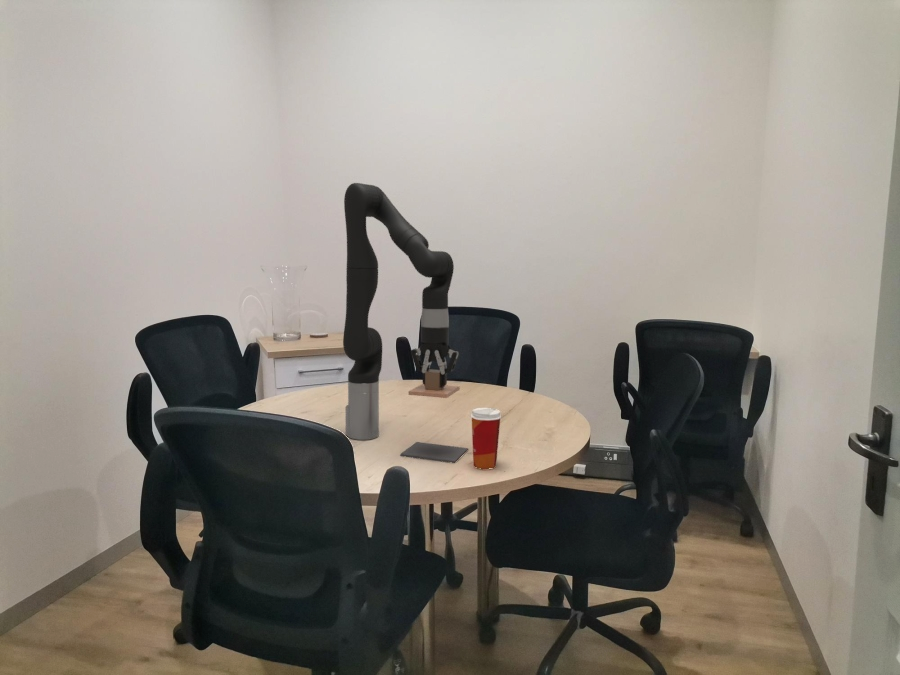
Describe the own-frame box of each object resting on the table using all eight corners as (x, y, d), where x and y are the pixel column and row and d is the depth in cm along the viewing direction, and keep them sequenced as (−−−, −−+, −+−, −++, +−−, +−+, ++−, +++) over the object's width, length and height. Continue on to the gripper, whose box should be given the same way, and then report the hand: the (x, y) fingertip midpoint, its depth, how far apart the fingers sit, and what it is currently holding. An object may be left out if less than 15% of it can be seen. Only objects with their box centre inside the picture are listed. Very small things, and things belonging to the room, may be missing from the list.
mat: (400, 455, 171) (400, 453, 170) (416, 443, 182) (416, 441, 182) (454, 463, 165) (454, 461, 165) (468, 450, 177) (468, 448, 177)
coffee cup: (481, 458, 170) (482, 405, 168) (506, 465, 164) (507, 410, 162) (462, 466, 163) (463, 411, 161) (487, 473, 158) (489, 416, 156)
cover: (408, 394, 167) (408, 373, 166) (423, 386, 177) (423, 366, 177) (446, 398, 163) (446, 375, 163) (459, 389, 174) (459, 368, 173)
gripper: (405, 325, 167) (405, 387, 169) (455, 327, 162) (454, 391, 164) (416, 322, 174) (415, 382, 176) (463, 324, 169) (463, 385, 171)
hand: (434, 386), depth 170 cm, fingers closed on cover, 4 cm apart
